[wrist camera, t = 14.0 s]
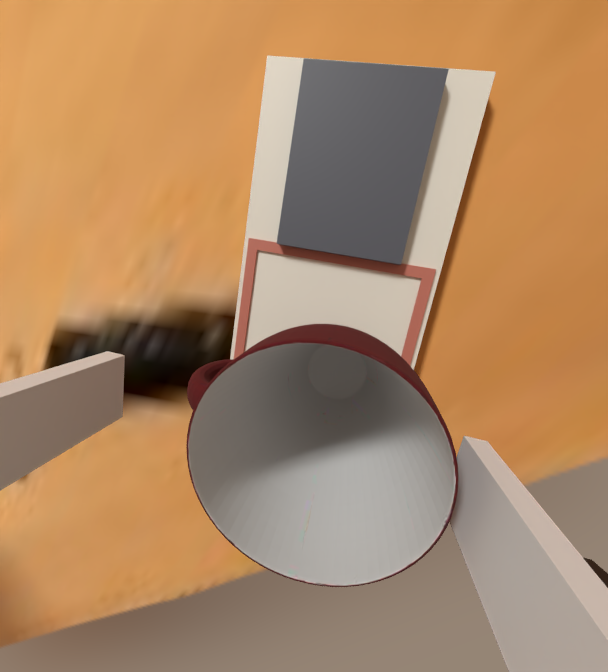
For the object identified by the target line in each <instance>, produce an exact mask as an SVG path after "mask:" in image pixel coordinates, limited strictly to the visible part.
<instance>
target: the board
mask: <svg viewBox="0 0 608 672" xmlns="http://www.w3.org/2000/svg"><path fill="white" fill-rule="evenodd" d="M495 73H496V72H491V71H477V70H463V69H449V68H435V67H421V66H406V65H392V64H378V63H364V62H350V61H336V60H322V59H308V58H293V57H279V56H267V63H266V71H265V80H264V88H263V96H262V104H261V112H260V120H259V128H258V137H257V145H256V153H255V161H254V169H253V177H252V186H251V194H250V202H249V210H248V218H247V226H246V234H245V243H244V251H243V259H242V267H241V275H240V283H239V292H238V300H237V308H236V316H235V324H234V332H233V340H232V349H231V357H230V359H235V358H237V357H238V356H239V355H241V354H242V353H244V352H245V351H246V350H248V349H249V348H251V347H252V346H254V345H255V344H257V343H258V342H260V341H262V340H264V339H265V338H267V337H269V336H271V335H274V334H276V333H278V332H281V331H283V330H286V329H289V328H293V327H297V326H302V325H309V324H336V325H342V326H347V327H351V328H354V329H357V330H360V331H362V332H365V333H367V334H369V335H371V336H373V337H375V338H377V339H379V340H380V341H382V342H383V343H385V344H387V345H388V346H389V347H390V348H392V349H393V350H394V351H396V352H397V353H398V354H399V355H400V356H401V357H402V358H403V359H404V360H405V361H406V362H407V363H408V364H409V365H410V366H411V368H412V369H413V370H414V367H415V363H416V360H417V356H418V353H419V349H420V345H421V342H422V338H423V334H424V331H425V327H426V323H427V320H428V316H429V313H430V309H431V305H432V302H433V298H434V294H435V291H436V287H437V283H438V280H439V276H440V273H441V269H442V265H443V262H444V258H445V254H446V251H447V247H448V243H449V240H450V236H451V233H452V229H453V225H454V222H455V218H456V214H457V211H458V207H459V203H460V200H461V196H462V193H463V189H464V185H465V182H466V178H467V174H468V171H469V167H470V163H471V160H472V156H473V153H474V149H475V145H476V142H477V138H478V134H479V131H480V127H481V123H482V120H483V116H484V113H485V109H486V105H487V102H488V98H489V94H490V91H491V87H492V83H493V80H494V76H495Z"/></svg>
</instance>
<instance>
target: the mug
mask: <svg viewBox="0 0 608 672" xmlns="http://www.w3.org/2000/svg"><path fill="white" fill-rule="evenodd" d="M187 395H188V401H189V403H190V406H191V408H192V409H193V413H192V416H191V420H190V423H189V428H188V434H187V460H188V468H189V472H190V477H191V480H192V483H193V486H194V489H195V492H196V494H197V497H198V499H199V501H200V503H201V505H202V507H203V509H204V510H205V512H206V513H207V515H208V517H209V518H210V520H211V521H212V522H213V524H214V525H215V526H216V528H217V529H218V530H219V531H220V532H221V534H222V535H223V536H224V537H225V538H226V539H227V540H228V541H229V542H230V543H231V544H232V545H233V546H234V547H236V548H237V549H238V550H239V551H240V552H242V553H243V554H244V555H246V556H247V557H248V558H250V559H251V560H253V561H254V562H256V563H258V564H259V565H261V566H263V567H264V568H266V569H268V570H270V571H272V572H275V573H277V574H279V575H282V576H284V577H287V578H290V579H293V580H296V581H300V582H304V583H308V584H313V585H320V586H330V587H348V586H359V585H364V584H370V583H374V582H378V581H381V580H384V579H386V578H389V577H392V576H394V575H396V574H398V573H400V572H402V571H404V570H405V569H407V568H409V567H410V566H412V565H414V564H415V563H416V562H417V561H419V560H420V559H421V558H423V557H424V556H425V555H426V554H427V553H428V552H429V551H430V550H431V549H432V548H433V546H434V545H435V544H436V543H437V541H438V540H439V539H440V537H441V536H442V534H443V533H444V531H445V529H446V528H447V525H448V523H449V521H450V519H451V517H452V513H453V510H454V507H455V504H456V498H457V493H458V464H457V459H456V453H455V449H454V446H453V442H452V439H451V436H450V433H449V431H448V429H447V426H446V424H445V422H444V420H443V418H442V416H441V414H440V412H439V410H438V408H437V406H436V404H435V403H434V401H433V399H432V397H431V395H430V394H429V392H428V390H427V388H426V387H425V385H424V384H423V382H422V381H421V379H420V378H419V376H418V375H417V374H416V372H415V371H414V370H413V369H412V368H411V366H410V365H409V364H408V363H407V362H406V361H405V360H404V359H403V358H402V357H401V356H400V355H399V354H398V353H397V352H396V351H394V350H393V349H392V348H390V347H389V346H388V345H387V344H385V343H383V342H382V341H380V340H379V339H377V338H375V337H373V336H371V335H369V334H367V333H365V332H362V331H360V330H357V329H354V328H351V327H347V326H342V325H336V324H309V325H302V326H297V327H293V328H289V329H286V330H283V331H281V332H278V333H276V334H274V335H271V336H269V337H267V338H265V339H264V340H262V341H260V342H258V343H257V344H255V345H254V346H252V347H251V348H249V349H248V350H246V351H245V352H244V353H242V354H241V355H239V356H238V357H237V358H235V359H229V360H220V361H215V362H211V363H209V364H206V365H204V366H202V367H200V368H199V369H198V370H196V371H195V372H194V373H193V375H192V376H191V378H190V380H189V383H188V390H187Z"/></svg>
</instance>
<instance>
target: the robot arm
mask: <svg viewBox="0 0 608 672" xmlns="http://www.w3.org/2000/svg"><path fill="white" fill-rule="evenodd" d="M124 357H125V355H121V354H117V353H112V352H108V351H107V352H104V353H101V354H97V355H94V356H91V357H87V358H84V359H81V360H77V361H74V362H71V363H67V364H64V365H61V366H57V367H54V368H51V369H47V370H44V371H41V372H37V373H34V374H31V375H27V376H24V377H20V378H17V379H14V380H10V381H7V382H4V383H0V490H2V489H3V488H5V487H7V486H8V485H10V484H12V483H13V482H15V481H17V480H18V479H20V478H22V477H23V476H25V475H27V474H28V473H30V472H32V471H33V470H35V469H37V468H38V467H40V466H42V465H43V464H45V463H47V462H48V461H50V460H52V459H53V458H55V457H57V456H58V455H60V454H62V453H63V452H65V451H67V450H68V449H70V448H71V447H73V446H75V445H76V444H78V443H80V442H81V441H83V440H85V439H86V438H88V437H90V436H91V435H93V434H95V433H96V432H98V431H100V430H101V429H103V428H105V427H106V426H108V425H110V424H111V423H113V422H115V421H116V420H118V419H120V418H121V417H122V414H123V385H124ZM456 459H457V464H458V493H457V498H456V504H455V507H454V510H453V513H452V517H451V519H450V521H449V522H450V524H451V527H452V529H453V532H454V534H455V537H456V540H457V541H458V544H459V547H460V550H461V552H462V555H463V557H464V560H465V562H466V565H467V567H468V570H469V572H470V575H471V577H472V580H473V582H474V585H475V588H476V590H477V593H478V595H479V598H480V600H481V603H482V605H483V608H484V610H485V613H486V615H487V618H488V620H489V623H490V626H491V628H492V631H493V633H494V636H495V638H496V641H497V643H498V646H499V648H500V651H501V653H502V656H503V659H504V661H505V663H506V666H507V669H508V671H509V672H608V574H607V573H606V572H605V571H604V570H603V569H602V568H600V567H599V566H598V565H597V564H596V563H595V562H594V561H592V560H590V559H586V558H583V557H582V556H581V555H580V554H579V552H578V551H577V550H576V549H575V548H574V546H573V545H572V544H571V543H570V542H569V541H568V539H567V538H566V537H565V535H564V534H563V533H562V532H561V531H560V529H559V528H558V527H557V526H556V524H555V523H554V522H553V521H552V520H551V518H550V517H549V516H548V515H547V514H546V512H545V511H544V510H543V509H542V507H541V506H540V505H539V504H538V503H537V501H536V500H535V499H534V498H533V496H532V495H531V494H530V493H529V492H528V490H527V489H526V488H525V487H524V485H523V484H522V483H521V482H520V481H519V479H518V478H517V477H516V476H515V475H514V473H513V472H512V471H511V470H510V468H509V467H508V466H507V465H506V464H505V462H504V461H503V460H502V459H501V457H500V456H499V455H498V454H497V453H496V451H495V450H494V449H493V448H492V446H491V445H490V444H489V443H488V442H487V441H484V440H480V439H476V438H471V437H467V436H464V437H463V440H462V443H461V446H460V449H459V452H458V455H457V458H456Z"/></svg>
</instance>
